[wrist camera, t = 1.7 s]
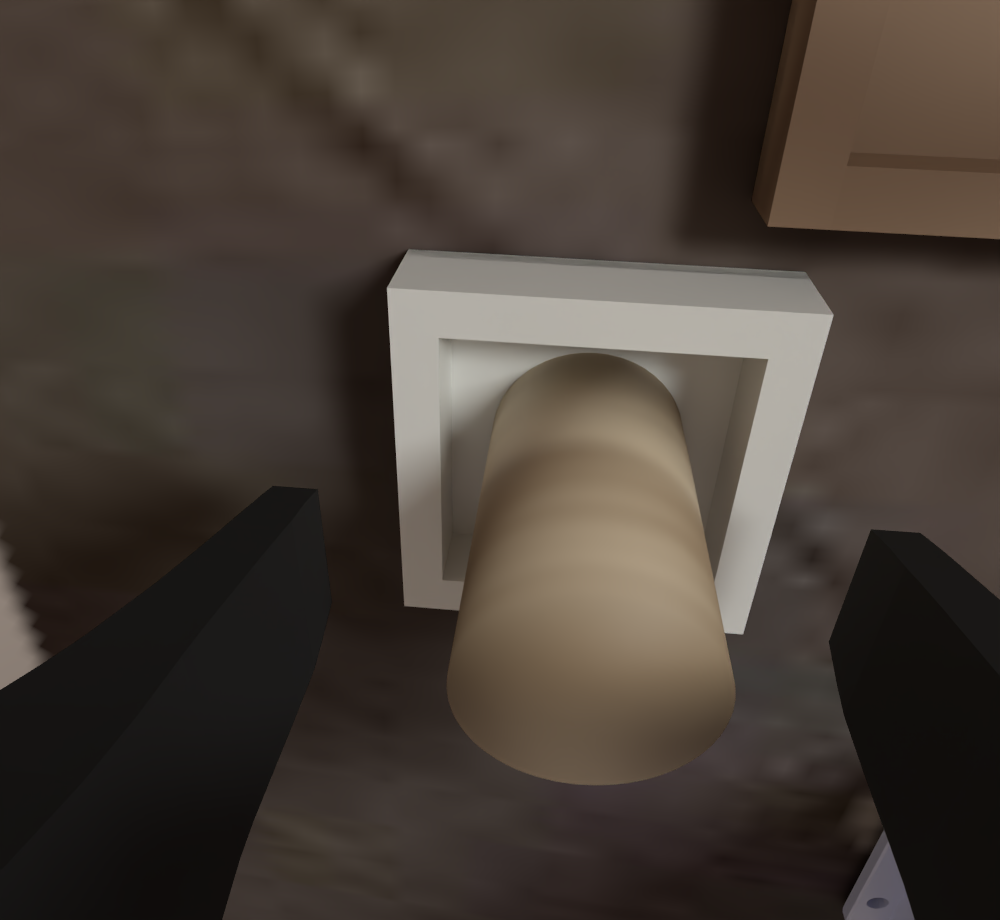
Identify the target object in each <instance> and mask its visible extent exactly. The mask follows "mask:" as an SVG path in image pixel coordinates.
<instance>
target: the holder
mask: <svg viewBox="0 0 1000 920" xmlns="http://www.w3.org/2000/svg"><path fill="white" fill-rule="evenodd" d="M387 297H388V316H389V334H390V352H391V371H392V389H393V407H394V426H395V444H396V462H397V481H398V499H399V517H400V536H401V554H402V572H403V591H404V606H411V607H423V608H435V609H447V610H458V611H459V608H460V602H461V597H462V591H463V586H464V581H465V575H466V570H467V564H468V559H469V553H470V548H471V542H472V537H473V532H474V526H475V521H476V515H477V510H478V504H479V499H480V493H481V488H482V482H483V477H484V472H485V466H486V461H487V455H488V450H489V444H490V439H491V433H492V428H493V423H494V418H495V414H496V411H497V408H498V406H499V404H500V401H501V400H502V398H503V396H504V395H505V393H506V392H507V390H508V389H509V388H510V387H511V386H512V384H513V383H514V382H515V381H516V380H517V379H518V378H520V377H521V376H522V375H523V374H524V373H526V372H527V371H529V370H530V369H532V368H533V367H535V366H537V365H539V364H541V363H543V362H545V361H547V360H550V359H553V358H556V357H559V356H564V355H568V354H575V353H601V354H609V355H613V356H617V357H621V358H624V359H626V360H629V361H631V362H634V363H636V364H638V365H639V366H641V367H643V368H645V369H646V370H648V371H649V372H650V373H652V374H653V375H655V376H656V377H657V378H658V379H659V380H660V381H661V382H662V383H663V384H664V385H665V387H666V388H667V389H668V391H669V392H670V393H671V395H672V397H673V398H674V400H675V402H676V404H677V407H678V409H679V412H680V416H681V421H682V426H683V431H684V435H685V440H686V445H687V450H688V455H689V460H690V465H691V470H692V475H693V480H694V485H695V490H696V495H697V499H698V504H699V509H700V514H701V519H702V524H703V529H704V534H705V539H706V544H707V549H708V554H709V559H710V563H711V568H712V573H713V578H714V583H715V588H716V593H717V598H718V603H719V608H720V613H721V618H722V623H723V628H724V632H725V633H733V634H743V632H744V629H745V625H746V622H747V618H748V615H749V611H750V608H751V604H752V601H753V597H754V594H755V590H756V587H757V583H758V579H759V576H760V572H761V569H762V565H763V562H764V558H765V555H766V551H767V548H768V544H769V541H770V537H771V534H772V530H773V527H774V523H775V520H776V516H777V513H778V509H779V505H780V502H781V498H782V495H783V491H784V488H785V484H786V481H787V477H788V474H789V470H790V467H791V463H792V460H793V456H794V453H795V449H796V446H797V442H798V438H799V435H800V431H801V428H802V424H803V421H804V417H805V414H806V410H807V407H808V403H809V400H810V396H811V393H812V389H813V386H814V382H815V379H816V375H817V372H818V368H819V364H820V361H821V357H822V354H823V350H824V347H825V343H826V340H827V336H828V333H829V329H830V326H831V322H832V319H833V313H832V312H831V310H830V309H829V307H828V306H827V304H826V303H825V301H824V300H823V298H822V297H821V295H820V294H819V292H818V291H817V289H816V288H815V286H814V284H813V283H812V281H811V280H810V278H809V277H808V275H807V274H806V272H795V271H778V270H760V269H743V268H726V267H708V266H691V265H673V264H656V263H639V262H621V261H604V260H586V259H569V258H552V257H534V256H517V255H500V254H482V253H465V252H447V251H430V250H413V249H408V251H407V253H406V255H405V256H404V258H403V260H402V262H401V264H400V265H399V267H398V269H397V271H396V273H395V274H394V276H393V278H392V280H391V282H390V283H389V285H388V287H387Z"/></svg>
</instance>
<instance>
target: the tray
mask: <svg viewBox="0 0 1000 920" xmlns="http://www.w3.org/2000/svg"><path fill="white" fill-rule="evenodd" d="M751 201H752V203H753V204H754V206H755V207H756V209H757V211H758V212H759V214H760V215H761V217H762V218H763V220H764V222H765V223H766V225H767V226H768V227H786V228H804V229H823V230H841V231H859V232H878V233H896V234H915V235H933V236H951V237H970V238H988V239H1000V0H792V3H791V8H790V13H789V18H788V23H787V28H786V33H785V38H784V43H783V48H782V52H781V57H780V62H779V67H778V72H777V77H776V82H775V87H774V92H773V97H772V102H771V106H770V111H769V116H768V121H767V126H766V131H765V136H764V141H763V146H762V151H761V156H760V161H759V165H758V170H757V175H756V180H755V185H754V190H753V195H752V200H751Z"/></svg>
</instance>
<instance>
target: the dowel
mask: <svg viewBox="0 0 1000 920" xmlns="http://www.w3.org/2000/svg"><path fill="white" fill-rule="evenodd" d="M446 687H447V696H448V701H449V704H450V707H451V710H452V712H453V714H454V716H455V718H456V720H457V722H458V724H459V725H460V726H461V728H462V729H463V731H464V732H465V733H466V734H467V735H468V736H469V737H470V739H471V740H472V741H473V742H474V743H475V744H477V745H478V746H479V747H480V748H481V749H483V750H484V751H485V752H486V753H488V754H489V755H491V756H493V757H494V758H496V759H497V760H499V761H501V762H503V763H504V764H506V765H508V766H510V767H512V768H515V769H517V770H520V771H522V772H524V773H527V774H530V775H533V776H537V777H540V778H543V779H548V780H552V781H557V782H563V783H570V784H579V785H615V784H625V783H631V782H636V781H642V780H646V779H650V778H653V777H657V776H660V775H663V774H665V773H668V772H671V771H673V770H676V769H677V768H679V767H681V766H683V765H685V764H687V763H689V762H691V761H692V760H694V759H695V758H697V757H698V756H700V755H701V754H702V753H704V752H705V751H706V750H707V749H708V748H709V747H711V746H712V745H713V744H714V742H715V741H716V740H717V739H718V738H719V737H720V736H721V734H722V733H723V731H724V729H725V728H726V726H727V725H728V723H729V720H730V718H731V715H732V713H733V709H734V704H735V682H734V677H733V672H732V667H731V662H730V657H729V652H728V647H727V642H726V637H725V632H724V628H723V623H722V618H721V613H720V608H719V603H718V598H717V593H716V588H715V583H714V578H713V573H712V568H711V563H710V559H709V554H708V549H707V544H706V539H705V534H704V529H703V524H702V519H701V514H700V509H699V504H698V499H697V495H696V490H695V485H694V480H693V475H692V470H691V465H690V460H689V455H688V450H687V445H686V440H685V435H684V431H683V426H682V421H681V416H680V412H679V409H678V407H677V404H676V402H675V400H674V398H673V397H672V395H671V393H670V392H669V391H668V389H667V388H666V387H665V385H664V384H663V383H662V382H661V381H660V380H659V379H658V378H657V377H656V376H655V375H653V374H652V373H650V372H649V371H648V370H646V369H645V368H643V367H641V366H639V365H638V364H636V363H634V362H631V361H629V360H626V359H624V358H621V357H617V356H613V355H609V354H601V353H575V354H568V355H564V356H559V357H556V358H553V359H550V360H547V361H545V362H543V363H541V364H539V365H537V366H535V367H533V368H532V369H530V370H529V371H527V372H526V373H524V374H523V375H522V376H521V377H520V378H518V379H517V380H516V381H515V382H514V383H513V384H512V386H511V387H510V388H509V389H508V390H507V392H506V393H505V395H504V396H503V398H502V400H501V401H500V404H499V406H498V408H497V411H496V414H495V418H494V423H493V428H492V433H491V439H490V444H489V450H488V455H487V461H486V466H485V472H484V477H483V482H482V488H481V493H480V499H479V504H478V510H477V515H476V521H475V526H474V532H473V537H472V542H471V548H470V553H469V559H468V564H467V570H466V575H465V581H464V586H463V591H462V597H461V602H460V608H459V613H458V619H457V624H456V630H455V635H454V641H453V646H452V651H451V657H450V662H449V668H448V673H447V685H446Z"/></svg>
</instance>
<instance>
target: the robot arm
mask: <svg viewBox="0 0 1000 920" xmlns="http://www.w3.org/2000/svg"><path fill="white" fill-rule="evenodd" d="M331 603H332V600H331V592H330V584H329V576H328V568H327V560H326V552H325V544H324V536H323V528H322V521H321V513H320V505H319V497H318V489H307V488H293V487H279V486H272V487H271V488H270V489H269V490H267V491H266V492H265V493H264V494H262V495H261V496H260V497H259V498H257V499H256V500H255V501H254V502H253V503H252V504H250V505H249V506H248V507H247V508H246V509H244V510H243V511H242V512H241V513H240V514H238V515H237V516H236V517H235V518H234V519H233V520H231V521H230V522H229V523H228V524H227V525H225V526H224V527H223V528H222V529H221V530H220V531H218V532H217V533H216V534H215V535H214V536H212V537H211V538H210V539H209V540H208V541H206V542H205V543H204V544H203V545H202V546H201V547H199V548H198V549H197V550H196V551H194V552H193V553H192V554H191V555H190V556H188V557H187V558H186V559H185V560H183V561H182V562H181V563H180V564H178V565H177V566H176V567H175V568H174V569H172V570H171V571H170V572H169V573H167V574H166V575H165V576H164V577H162V578H161V579H160V580H159V581H157V582H156V583H155V584H154V585H152V586H151V587H150V588H148V589H147V590H145V591H144V592H143V593H141V594H140V595H139V596H137V597H136V598H135V599H133V600H132V601H131V602H129V603H128V604H127V605H125V606H124V607H123V608H121V609H120V610H119V611H117V612H116V613H115V614H113V615H112V616H111V617H109V618H108V619H106V620H105V621H104V622H102V623H101V624H100V625H98V626H97V627H96V628H94V629H93V630H92V631H90V632H89V633H87V634H86V635H85V636H83V637H82V638H80V639H79V640H77V641H76V642H74V643H73V644H72V645H70V646H68V647H67V648H65V649H64V650H62V651H61V652H59V653H58V654H56V655H55V656H53V657H52V658H50V659H49V660H47V661H46V662H44V663H43V664H41V665H39V666H38V667H36V668H35V669H33V670H31V671H30V672H28V673H27V674H25V675H24V676H22V677H20V678H19V679H17V680H16V681H14V682H13V683H11V684H9V685H8V686H6V687H4V688H3V689H1V690H0V920H222V918H223V914H224V911H225V908H226V904H227V901H228V897H229V894H230V891H231V887H232V884H233V880H234V877H235V874H236V870H237V867H238V864H239V860H240V857H241V854H242V852H243V849H244V846H245V843H246V840H247V838H248V835H249V832H250V829H251V826H252V824H253V821H254V818H255V816H256V813H257V811H258V809H259V806H260V804H261V801H262V799H263V796H264V794H265V791H266V789H267V786H268V784H269V781H270V779H271V776H272V774H273V771H274V769H275V766H276V764H277V762H278V759H279V757H280V754H281V752H282V749H283V747H284V744H285V742H286V739H287V737H288V734H289V732H290V729H291V727H292V724H293V722H294V719H295V717H296V714H297V712H298V709H299V707H300V704H301V702H302V699H303V697H304V694H305V692H306V689H307V687H308V684H309V682H310V679H311V676H312V674H313V671H314V668H315V665H316V661H317V657H318V654H319V650H320V646H321V643H322V639H323V635H324V631H325V627H326V623H327V619H328V615H329V611H330V607H331ZM829 645H830V650H831V655H832V661H833V666H834V671H835V676H836V682H837V686H838V691H839V695H840V699H841V704H842V708H843V713H844V716H845V719H846V722H847V725H848V728H849V731H850V734H851V737H852V740H853V743H854V746H855V749H856V752H857V754H858V757H859V760H860V763H861V766H862V769H863V772H864V775H865V777H866V780H867V783H868V786H869V789H870V791H871V794H872V797H873V800H874V803H875V805H876V808H877V811H878V814H879V817H880V819H881V822H882V825H883V828H884V830H883V832H882V834H881V836H880V838H879V840H878V842H877V844H876V846H875V847H874V849H873V851H872V853H871V855H870V857H869V859H868V861H867V863H866V864H865V866H864V868H863V870H862V872H861V874H860V876H859V878H858V880H857V881H856V883H855V885H854V887H853V889H852V891H851V893H850V895H849V897H848V898H847V900H846V902H845V904H844V906H843V910H842V911H843V915H844V919H845V920H1000V600H999V599H998V598H997V597H996V596H995V595H994V594H992V593H991V592H990V591H989V590H988V589H987V588H986V587H984V586H983V585H982V584H981V583H980V582H979V581H977V580H976V579H975V578H974V577H973V576H972V575H971V574H969V573H968V572H967V571H966V570H965V569H964V568H962V567H961V566H960V565H959V564H958V563H957V562H955V561H954V560H953V559H952V558H951V557H949V556H948V555H947V554H946V553H945V552H943V551H942V550H941V549H940V548H939V547H937V546H936V545H935V544H934V543H932V542H931V541H930V540H928V539H927V538H926V537H925V536H923V535H922V534H921V533H912V532H899V531H885V530H871V531H870V534H869V536H868V539H867V542H866V544H865V547H864V550H863V552H862V555H861V558H860V560H859V563H858V566H857V568H856V571H855V574H854V576H853V579H852V582H851V584H850V587H849V590H848V592H847V595H846V598H845V600H844V603H843V606H842V608H841V611H840V614H839V616H838V619H837V622H836V624H835V627H834V630H833V632H832V635H831V638H830V640H829Z"/></svg>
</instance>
